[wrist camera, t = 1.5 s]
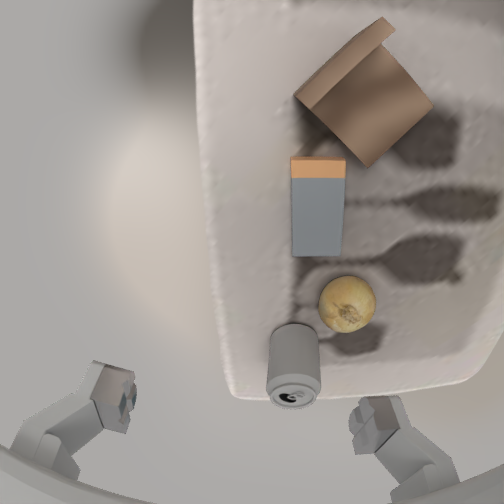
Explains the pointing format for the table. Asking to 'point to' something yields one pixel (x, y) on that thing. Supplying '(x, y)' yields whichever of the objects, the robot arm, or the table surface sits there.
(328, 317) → the onion
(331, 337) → the table surface
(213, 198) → the table surface
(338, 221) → the two-tone tall prism
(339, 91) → the tan bookend
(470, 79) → the table surface
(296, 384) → the can
